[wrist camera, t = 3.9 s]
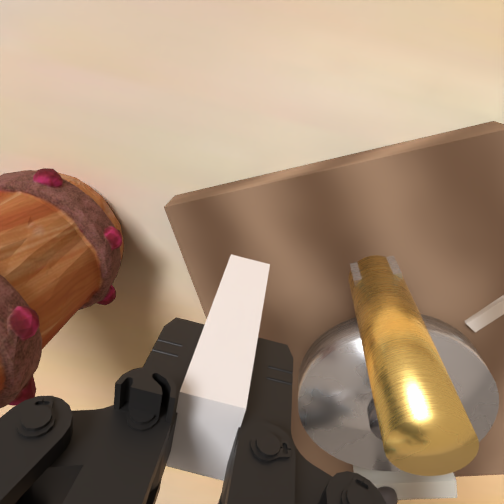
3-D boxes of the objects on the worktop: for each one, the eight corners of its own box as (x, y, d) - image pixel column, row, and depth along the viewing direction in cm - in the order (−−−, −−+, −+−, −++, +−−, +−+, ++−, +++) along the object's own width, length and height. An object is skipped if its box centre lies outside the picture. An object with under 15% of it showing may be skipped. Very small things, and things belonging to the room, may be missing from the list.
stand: (272, 461, 32) (267, 526, 28) (175, 195, 22) (143, 229, 18) (496, 448, 28) (531, 520, 24) (498, 120, 18) (559, 138, 14)
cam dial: (484, 437, 25) (603, 684, 15) (315, 448, 27) (323, 667, 17) (481, 216, 18) (687, 395, 8) (261, 257, 21) (224, 432, 11)
